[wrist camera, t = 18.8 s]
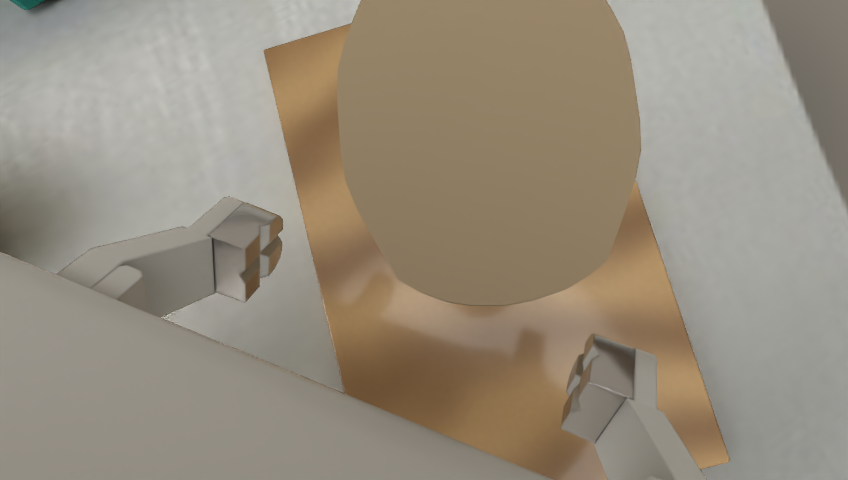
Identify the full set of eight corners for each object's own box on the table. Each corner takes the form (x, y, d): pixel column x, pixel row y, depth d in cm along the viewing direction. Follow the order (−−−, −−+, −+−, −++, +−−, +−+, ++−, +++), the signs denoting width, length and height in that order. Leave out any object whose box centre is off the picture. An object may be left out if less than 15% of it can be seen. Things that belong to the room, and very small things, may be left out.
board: (724, 458, 23) (731, 462, 22) (383, 544, 23) (381, 549, 23) (559, -33, 26) (561, -41, 26) (267, 55, 27) (262, 49, 26)
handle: (530, 158, 24) (608, -92, 10) (548, 310, 24) (665, 290, 9) (417, 170, 25) (327, -52, 10) (430, 320, 24) (351, 318, 9)
